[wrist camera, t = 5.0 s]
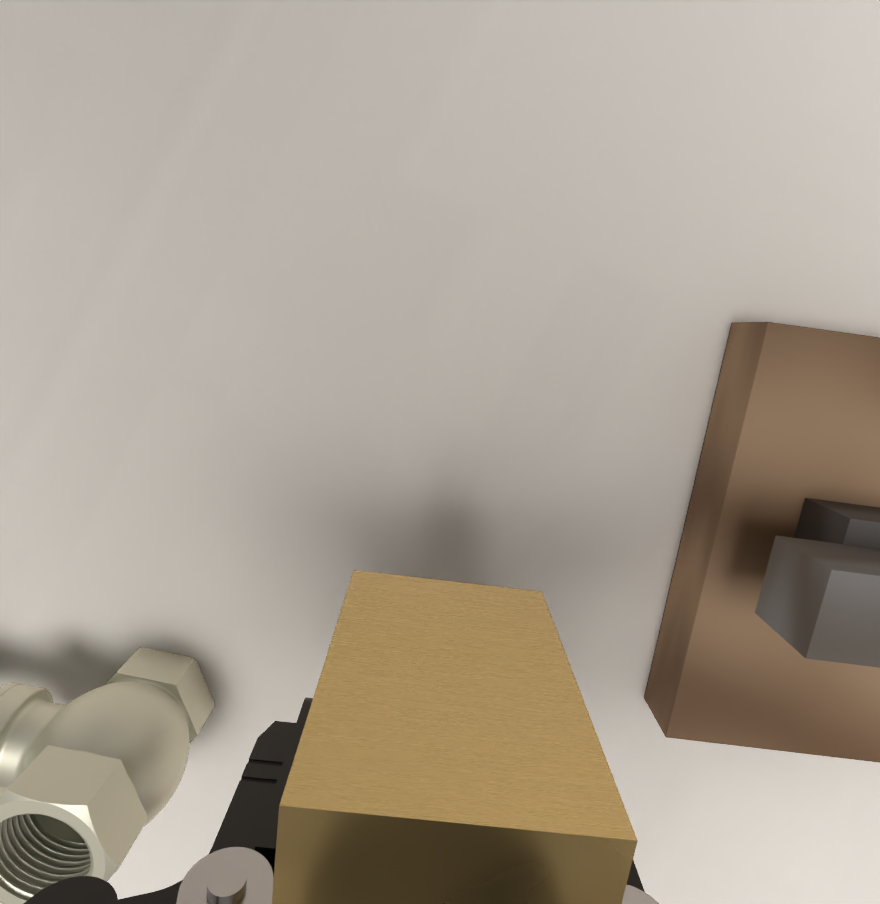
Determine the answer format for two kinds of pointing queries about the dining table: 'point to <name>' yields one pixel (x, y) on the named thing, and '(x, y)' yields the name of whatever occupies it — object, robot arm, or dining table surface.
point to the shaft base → (732, 536)
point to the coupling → (449, 759)
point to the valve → (92, 768)
